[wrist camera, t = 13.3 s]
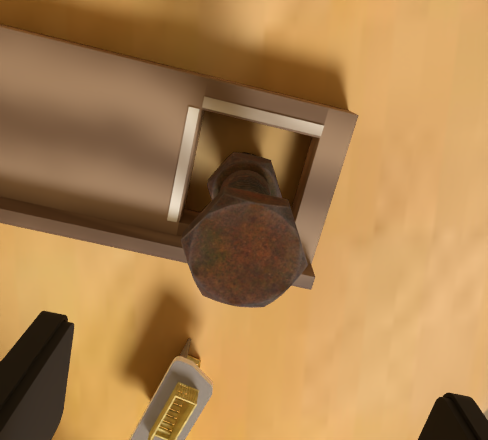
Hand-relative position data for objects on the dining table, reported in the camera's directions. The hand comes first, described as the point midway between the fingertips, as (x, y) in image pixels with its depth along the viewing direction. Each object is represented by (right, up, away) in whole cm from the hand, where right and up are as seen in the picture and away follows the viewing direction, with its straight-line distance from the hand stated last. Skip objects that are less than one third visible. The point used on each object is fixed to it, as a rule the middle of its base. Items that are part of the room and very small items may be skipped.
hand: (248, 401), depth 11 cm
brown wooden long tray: (-9, +10, +22) cm, 26 cm away
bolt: (0, +8, +23) cm, 24 cm away
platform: (-6, -9, +29) cm, 31 cm away
